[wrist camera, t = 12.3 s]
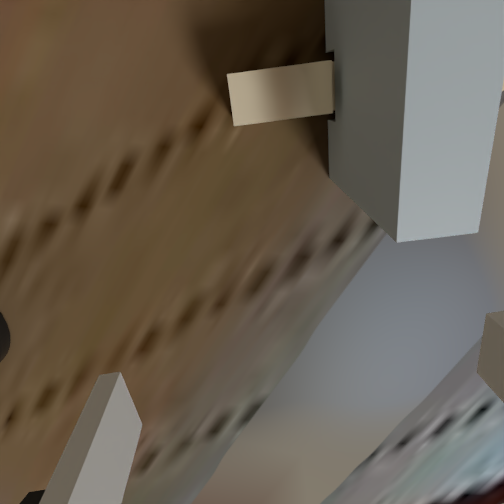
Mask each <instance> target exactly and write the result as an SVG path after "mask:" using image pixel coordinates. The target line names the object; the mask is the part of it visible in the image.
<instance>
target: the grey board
mask: <svg viewBox="0 0 504 504" xmlns="http://www.w3.org/2000/svg"><path fill="white" fill-rule="evenodd" d="M325 37H326V53H328V52H334V67H335V119H330V120H328V149H329V178H330V179H331V180H332V181H333V182H334V183H335V184H336V185H337V186H338V187H339V188H340V189H341V190H342V191H343V192H344V193H346V194H347V195H348V196H349V197H350V198H351V199H352V200H353V201H354V202H355V203H356V204H357V205H358V206H359V207H360V208H361V209H362V210H363V211H364V212H365V213H366V214H367V215H368V216H369V217H371V218H372V219H373V220H374V221H375V222H376V223H377V224H378V225H379V226H380V227H381V228H382V229H383V230H384V231H385V232H386V233H387V234H388V235H389V236H390V237H391V238H392V239H393V240H394V241H396V242H405V241H413V240H421V239H429V238H438V237H446V236H454V235H462V234H471V233H478V229H479V223H480V217H481V212H482V206H483V200H484V194H485V187H486V181H487V175H488V170H489V163H490V158H491V152H492V146H493V140H494V134H495V128H496V121H497V116H498V110H499V104H500V98H501V92H502V86H503V80H504V0H325Z"/></svg>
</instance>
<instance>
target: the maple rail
mask: <svg viewBox="0 0 504 504" xmlns="http://www.w3.org/2000/svg"><path fill="white" fill-rule="evenodd" d="M227 79H228V86H229V93H230V101H231V108H232V116H233V123H234V126H239V125H247V124H254V123H262V122H270V121H277V120H285V119H292V118H300V117H308V116H315V115H323V114H330V113H333V110H335V67H334V62H332V60H327V61H320V62H313V63H305V64H298V65H291V66H283V67H276V68H268V69H261V70H254V71H246V72H239V73H232V74H227ZM502 91H504V80H503V86H502Z"/></svg>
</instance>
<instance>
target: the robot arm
mask: <svg viewBox="0 0 504 504" xmlns="http://www.w3.org/2000/svg"><path fill="white" fill-rule="evenodd" d="M9 347H10V333H9V329H8V326H7V324H6V321H5V320H4V318H3V316H2V315H1V313H0V362H1V361H2V360H3V359H4V357H5V356H6V354H7V352H8V350H9ZM477 373H478V374H479V375H480V377H481V378H482V379H483V380H484V381H485V382H486V383H487V384H488V386H489V387H490V388H491V389H492V390H493V391H494V392H495V393H496V395H497V396H498V397H499V398H500V399H501V400H502V401H503V402H504V311H500V312H494V313H488V314H486V319H485V325H484V331H483V337H482V343H481V349H480V355H479V361H478V368H477ZM141 428H142V423H141V420H140V418H139V416H138V413H137V411H136V408H135V406H134V404H133V401H132V399H131V396H130V394H129V391H128V389H127V387H126V384H125V382H124V379H123V377H122V375H121V372H116V373H110V374H104V375H99V377H98V379H97V381H96V383H95V385H94V388H93V390H92V392H91V394H90V396H89V398H88V400H87V402H86V405H85V407H84V409H83V411H82V413H81V415H80V417H79V420H78V422H77V424H76V426H75V428H74V430H73V432H72V434H71V437H70V439H69V441H68V443H67V445H66V447H65V449H64V452H63V454H62V456H61V458H60V460H59V462H58V464H57V466H56V469H55V471H54V473H53V475H52V477H51V479H50V481H49V483H48V486H47V488H46V490H40V491H34V492H29V493H28V494H27V495H26V497H25V498H24V499H23V500H22V501H21V503H20V504H121V502H122V499H123V495H124V491H125V488H126V484H127V480H128V476H129V473H130V469H131V465H132V461H133V458H134V454H135V450H136V447H137V443H138V439H139V435H140V432H141Z"/></svg>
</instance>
